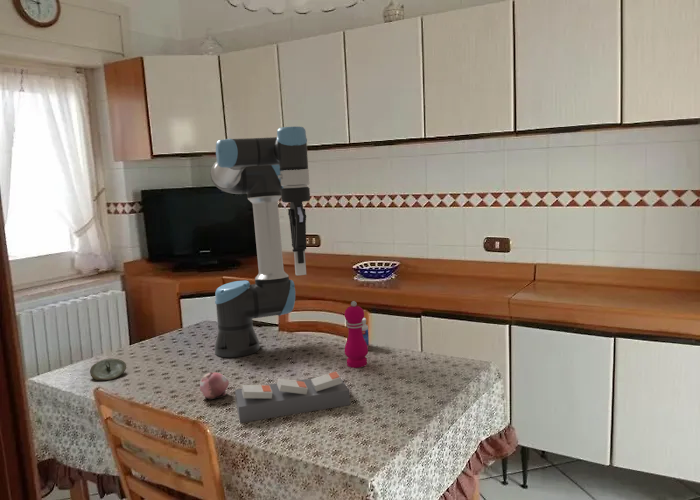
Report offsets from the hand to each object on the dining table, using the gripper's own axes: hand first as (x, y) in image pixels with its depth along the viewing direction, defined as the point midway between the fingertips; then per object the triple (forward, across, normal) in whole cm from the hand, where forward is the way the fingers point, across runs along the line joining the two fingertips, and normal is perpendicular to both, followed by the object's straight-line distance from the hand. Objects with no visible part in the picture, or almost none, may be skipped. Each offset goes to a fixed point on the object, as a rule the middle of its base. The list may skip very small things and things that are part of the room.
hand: (300, 274), depth 157 cm
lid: (+33, -36, -56) cm, 74 cm away
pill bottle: (+33, -30, +24) cm, 50 cm away
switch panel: (+32, +8, -6) cm, 34 cm away
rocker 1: (+27, +10, -15) cm, 32 cm away
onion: (+33, -5, -25) cm, 41 cm away
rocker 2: (+27, +10, -6) cm, 29 cm away
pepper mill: (+33, -14, +18) cm, 40 cm away
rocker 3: (+27, +10, +3) cm, 29 cm away
